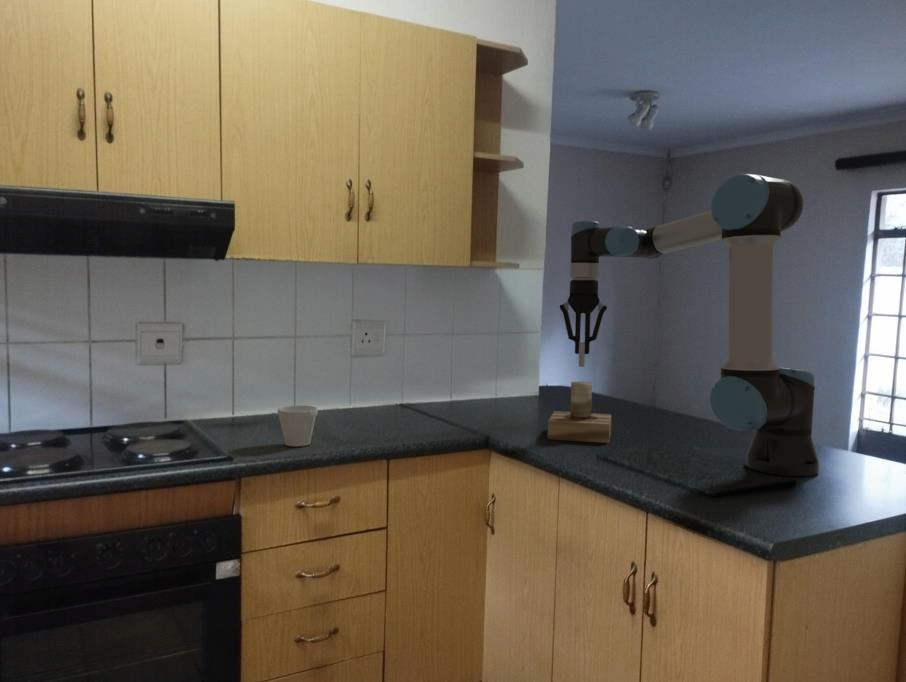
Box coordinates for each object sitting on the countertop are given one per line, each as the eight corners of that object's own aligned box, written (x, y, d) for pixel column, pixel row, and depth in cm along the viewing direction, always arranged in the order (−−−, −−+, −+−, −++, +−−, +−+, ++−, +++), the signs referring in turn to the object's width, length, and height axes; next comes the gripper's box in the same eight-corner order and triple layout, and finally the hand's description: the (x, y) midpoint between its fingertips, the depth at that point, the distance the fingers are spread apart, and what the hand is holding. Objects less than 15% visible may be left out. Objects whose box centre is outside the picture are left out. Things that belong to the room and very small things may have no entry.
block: (608, 443, 186) (609, 424, 186) (547, 439, 190) (548, 420, 190) (610, 431, 201) (611, 414, 200) (554, 428, 205) (554, 411, 204)
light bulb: (590, 436, 192) (591, 384, 191) (568, 434, 194) (570, 383, 192) (591, 432, 198) (592, 382, 196) (570, 430, 199) (572, 381, 198)
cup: (324, 442, 184) (324, 406, 183) (306, 450, 174) (306, 413, 173) (289, 439, 186) (289, 404, 186) (270, 447, 177) (269, 410, 176)
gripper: (609, 279, 194) (606, 365, 196) (561, 279, 197) (559, 363, 199) (608, 279, 187) (605, 368, 189) (558, 278, 190) (556, 366, 192)
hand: (581, 366), depth 194 cm, fingers closed
